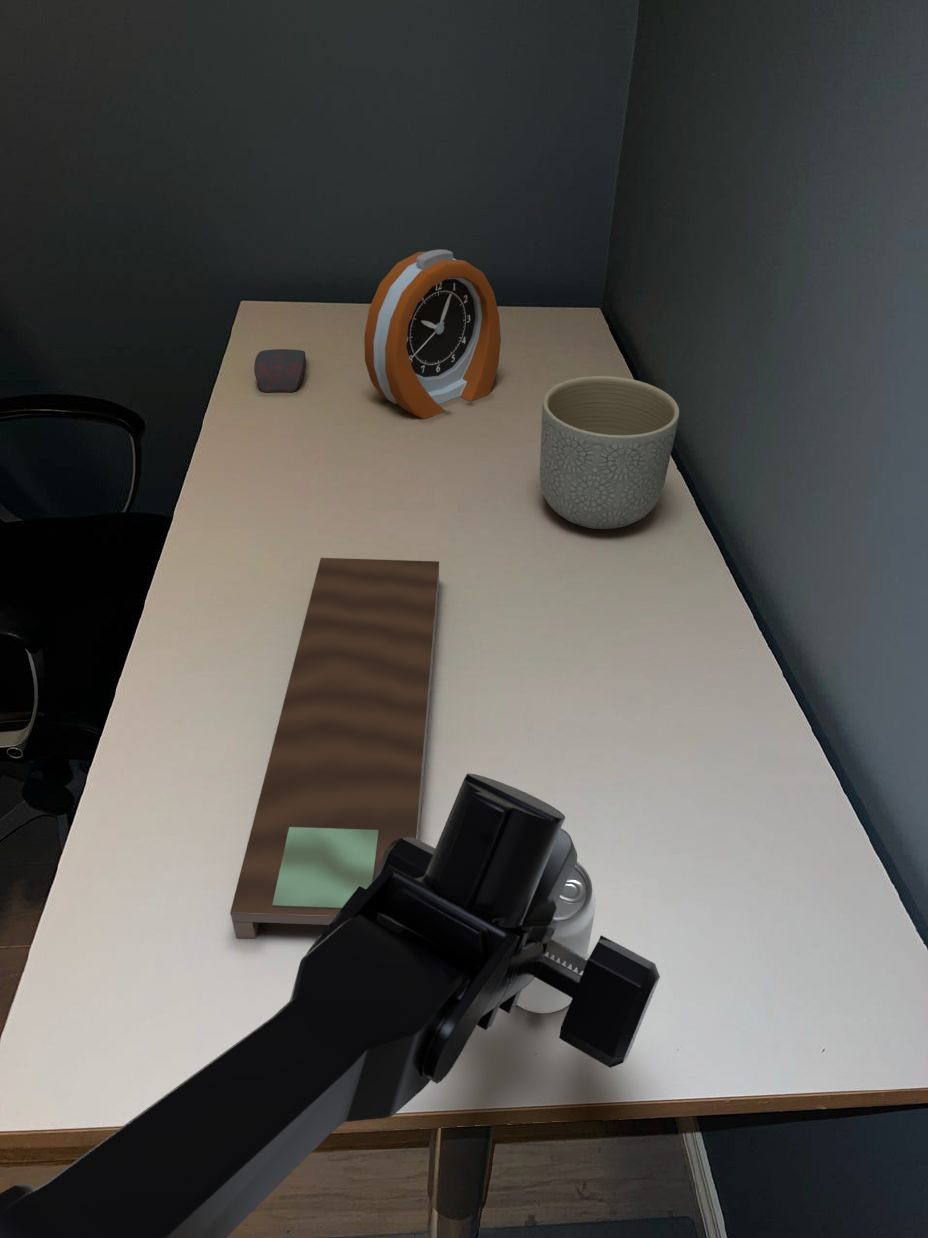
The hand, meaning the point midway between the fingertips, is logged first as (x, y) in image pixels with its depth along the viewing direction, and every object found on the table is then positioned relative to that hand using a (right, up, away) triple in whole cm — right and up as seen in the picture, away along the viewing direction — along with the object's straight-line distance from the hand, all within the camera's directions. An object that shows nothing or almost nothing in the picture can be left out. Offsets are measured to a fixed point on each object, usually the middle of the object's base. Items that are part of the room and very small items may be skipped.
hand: (540, 925), depth 66 cm
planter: (+13, +37, +59) cm, 71 cm away
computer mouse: (-36, +63, +90) cm, 115 cm away
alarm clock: (-10, +58, +85) cm, 103 cm away
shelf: (-16, +11, +27) cm, 33 cm away
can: (0, -6, +6) cm, 9 cm away
